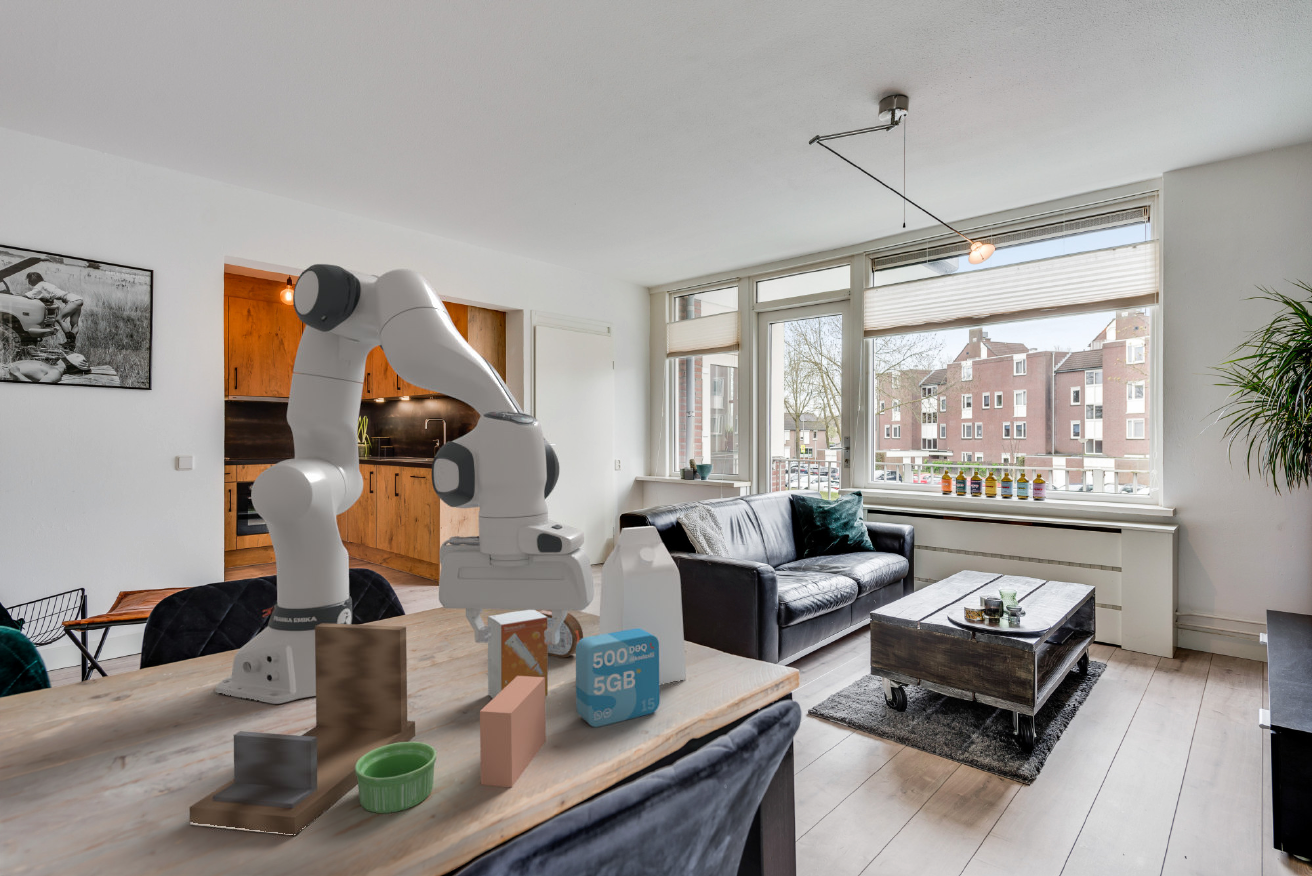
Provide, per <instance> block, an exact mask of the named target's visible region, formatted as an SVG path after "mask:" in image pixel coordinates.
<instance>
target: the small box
mask: <svg viewBox="0 0 1312 876" xmlns="http://www.w3.org/2000/svg"><path fill="white" fill-rule="evenodd" d="M487 626H491V632H490V634H491V639H490V641H488V642H487V687H488V688H487V689H488V690H487V694H488V696H489V697H491V698H492V699H493V698H495V697H496V696H497V695H498V694H499V693H500V692H501V691H502V690H503V689H504V688H505V687H506V686H507V685H508V684H509V683H510V682H511V681H513V680H514V679H515V678H516V677H517V676H529V677H545V697H547V696H548V693H549V689H548V687H549V685H548V680H549V679H548V674H549V673H548V671H549V668H548V667H549V666H548V665H549V664H548V663H549V662H548V660H549V658H548V656H549V655H548V644H545V642H544V640H545V637H544V631H545V630H547V617H546V616H545V615H543V614H541V613H539V612H538V611H536V610H518V611H510V612H505V613H500V614H495V615H488V616H487Z"/></svg>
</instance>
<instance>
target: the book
mask: <svg viewBox="0 0 1312 876" xmlns="http://www.w3.org/2000/svg"><path fill="white" fill-rule="evenodd" d="M546 737H547V735H546V696H545V677H529V676H517V677H516V678H515V679H514V680H513V681H511V682H510V683H509V684H508V685H507V686H506V687H505V688H504V689H503V690H502V691H501V692H500V693H499V694H498V695H497V696H496V697H495V698H492V699H491V700H490V701H489V702H488V703H487V704H486V705H485V706H483V708H481V710H480V711H479V738H480V740H479V742H480V744H479V745H480V746H479V747H480V785H481V786H482V785H483V786H494V787H505V788H513V786H514V785H515V784H516V783H517V781H518V780H519V779H520V777H522V775H523V773H524V772H525V771H526V769H527V768H528V767H529V765H530V764H531V762H532V761H533V760H534V758H535V757H536V755H537V754H538V753H539V751H540V750H541V749H542V747H544V745H545V743H546V742H547V740H546Z"/></svg>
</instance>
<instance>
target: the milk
mask: <svg viewBox="0 0 1312 876" xmlns="http://www.w3.org/2000/svg"><path fill="white" fill-rule="evenodd" d="M617 539H618V540H617V543H616V545H615V546H614V547H613V549H612V550H611V552H610V554H609V555H608V557H607V558H606V559H605V561H604V563H603V565H602V570H601V578H600V580H601V581H600V582H601V583H600V599H599V600H600V602H599V604H600V605H599V621H598V622H599V623H598V625H599V626H598V635H601V634H607V633H613V632H619V631H624V630H630V629H636V628H640V629H642V630H644V631H646V632H648V633H650V634H652V635H654V636H655V637H656V638H657V639H658V641H659V684H662V685H664V684H663V683H668V684H671V683H670V682H673V681H678V682H680V681H679V680H683V679H686V680H687V672H686V671H687V670H686V669H687V668H686V656H685V637H684V636H685V635H684V622H683V620H684V619H683V618H684V617H683V603H682V588H681V587H682V584H681V574H680V570H679V568H678V567H677V564H676V562H675V561H674V559H673V557H672V555H671V554H670V552H669V551H668V549H667V547H666V545H665V543H664V542H663V540H662V538H661V536H660V533H659V532H658V530H657V527H656V526H654V525H650V526H649V525H647V526H634V527H624V528H623V527H622V528H621V531H620V533H619V537H618V538H617ZM683 681H684V680H683ZM673 683H674V682H673Z"/></svg>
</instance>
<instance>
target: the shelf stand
mask: <svg viewBox="0 0 1312 876" xmlns="http://www.w3.org/2000/svg"><path fill="white" fill-rule="evenodd" d="M407 662H408V659H407V626H397V625H396V626H394V625H375V624H373V625H372V624H371V625H369V624H354V623H353V624H330V623H321V624H319V625H317V626H315V668H316V696H315V726H314V727H313V728H311V729H310V730H308V731H306V732H305V733H303V734H301V735H297V734H296V735H295V734H284V733H283V734H282V733H268V732H256V731H242V730H240V731H238V732H236V733H235V734H233V779H231V780H229V781H228V782H227V783H225V784H223V785H222V786H219V787H218V788H216V789H215V790H214V791H212V792H211V793H209V794H207V795H206V796H205V797H202V798H201V799H200V800H198V801H197V802H195V803H193V804H192V805H190V806H189V823H190V822H193V823H198V824H210V825H214V826H215V825H217V826H226V827H235V828H245V829H249V830H260V831H264V832H265V831H266V832H278V833H283V834H284V833H285V834H293V835H294V834H297V833H298V832H299V831H300V830H302V828H304V827H305V826H307V825H308V824H309V823H310V822H312V821H313V820H314V819H315V818H317V817H318V816H319V815H320V816H322V814H323V812H324V811H325V812H327V811H328V809H330V808H331V807H333V805H334V804H336V803H337V802H338V801H339V800H340V799H342V798H343V797H344V796H345V795H346V794H348V793H349V792H350V791H351V790H352V789H354V787H356V786H358V779H357V776H356V773H355V765H356V763H357V761H358V760H359V759H360V758H361V757H362V756H364V755H365V754H367V753H368V752H370V751H372V750H374V749H377V748H379V747H382V746H386V745H390V744H394V743H400V742H410V740H412V739H413V738H414V737H416V721H414V720H408V677H407V676H408V671H407V667H408V665H407ZM342 796H343V797H342ZM336 801H337V802H336ZM329 807H330V808H329ZM325 812H324V813H325ZM320 816H319V817H320ZM319 817H318V818H319ZM318 818H317V819H318ZM315 820H316V819H315ZM315 820H314V821H315ZM314 821H313V822H314ZM313 822H312V823H313ZM309 825H310V824H309ZM309 825H308V826H309ZM308 826H307V827H308ZM302 831H303V830H302Z"/></svg>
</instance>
